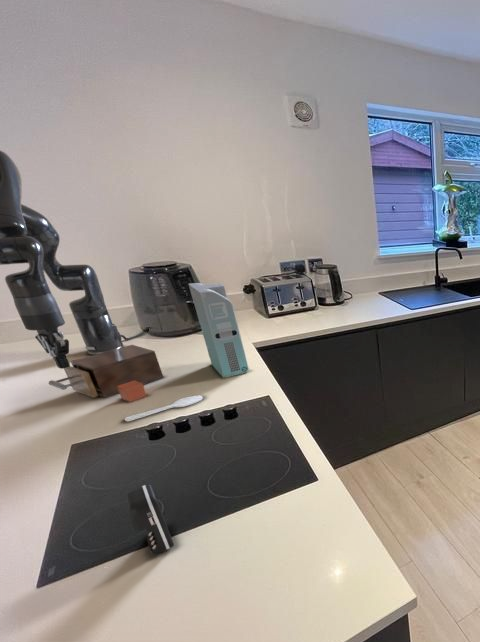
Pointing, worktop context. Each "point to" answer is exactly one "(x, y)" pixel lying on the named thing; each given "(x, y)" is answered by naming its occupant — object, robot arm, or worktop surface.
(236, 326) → the device
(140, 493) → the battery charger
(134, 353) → the cabinet
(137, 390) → the block
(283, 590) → the worktop surface
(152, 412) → the spoon
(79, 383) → the drawer
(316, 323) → the worktop surface
